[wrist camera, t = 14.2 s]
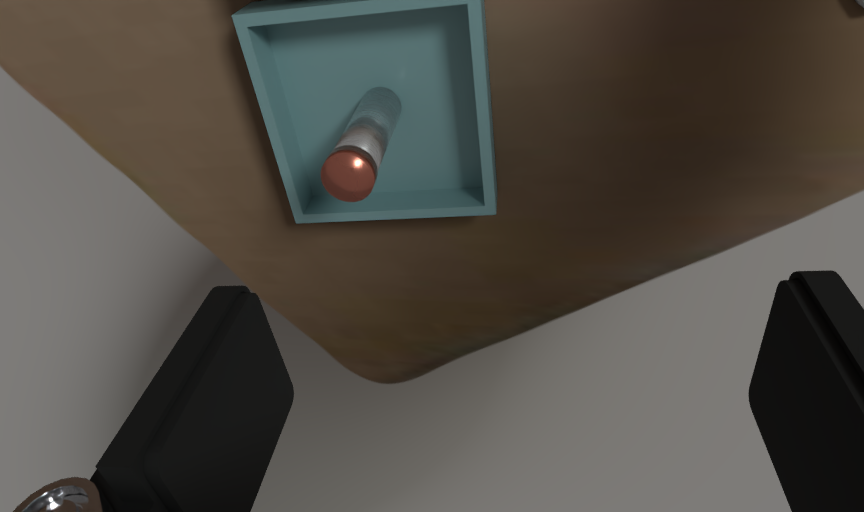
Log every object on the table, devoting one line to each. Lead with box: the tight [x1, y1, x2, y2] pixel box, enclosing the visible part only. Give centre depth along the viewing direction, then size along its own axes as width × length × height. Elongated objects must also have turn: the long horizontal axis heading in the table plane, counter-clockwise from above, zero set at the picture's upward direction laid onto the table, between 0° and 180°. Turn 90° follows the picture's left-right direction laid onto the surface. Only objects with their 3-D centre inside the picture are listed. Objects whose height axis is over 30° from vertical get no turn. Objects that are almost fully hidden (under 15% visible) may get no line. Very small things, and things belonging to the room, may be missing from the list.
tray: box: [232, 0, 497, 223], centre depth 42 cm, size 16×16×4 cm
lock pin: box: [321, 87, 402, 202], centre depth 39 cm, size 3×3×11 cm
